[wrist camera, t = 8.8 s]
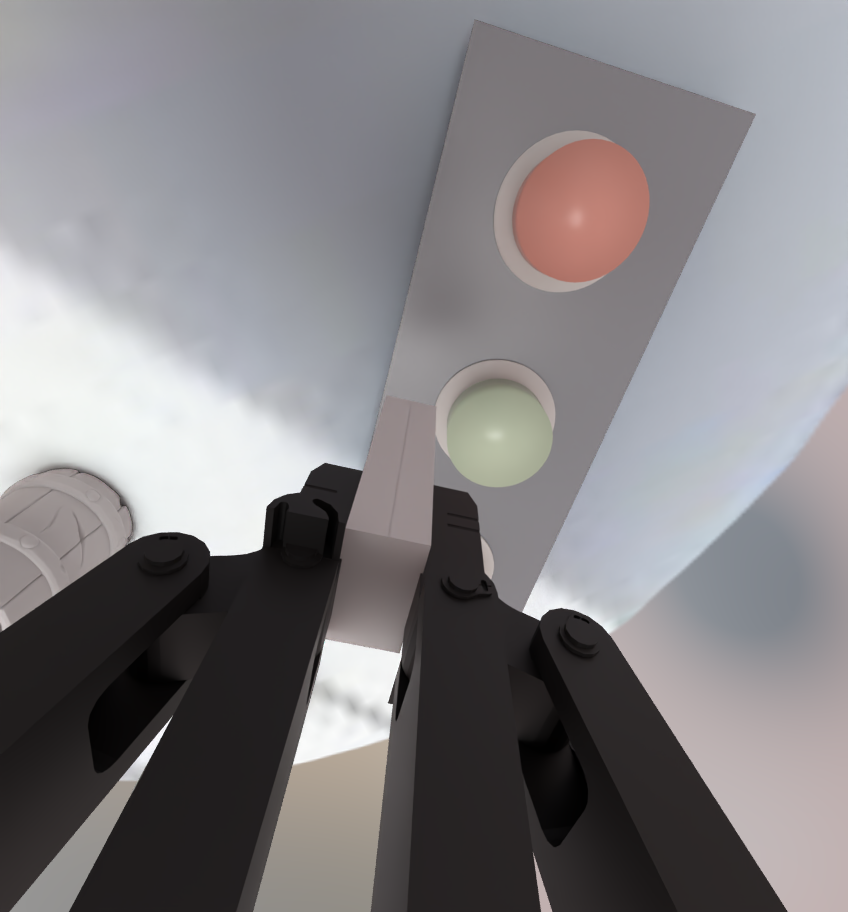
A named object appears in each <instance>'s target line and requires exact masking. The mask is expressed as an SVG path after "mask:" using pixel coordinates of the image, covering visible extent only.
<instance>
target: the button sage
mask: <svg viewBox="0 0 848 912" xmlns="http://www.w3.org/2000/svg"><path fill="white" fill-rule="evenodd" d="M552 442H553V432H552V427H551V423H550V420H549V418H548V416H547V414H546V412H545V411H544V409H543V407H542V405H541V403H540V402H539V400H538V398H537V397H536V396H535V394H534V393H533V392H532V391H531V390H529V389H528V388H527V387H525V386H524V385H522V384H520V383H518V382H515V381H512V380H508V379H499V378H498V379H488V380H484V381H481V382H478V383H476V384H474V385H472V386H470V387H468V388H467V389H466V390H464V391H463V392H462V393H461V394H460V395H459V396H458V397H457V399H456V400H455V401H454V403H453V405H452V407H451V409H450V411H449V414H448V418H447V448H448V453H449V456H450V459H451V461H452V463H453V464H454V466H455V467H456V469H457V470H458V471H459V472H460V473H461V474H462V475H463V476H464V477H466V478H467V479H469V480H470V481H472V482H474V483H477V484H480V485H483V486H487V487H507V486H512V485H516V484H518V483H521V482H523V481H525V480H527V479H528V478H530V477H531V476H533V475H534V474H535V473H536V472H537V471H538V470H539V469H540V468H541V467H542V466H543V464H544V463H545V461H546V460H547V458H548V456H549V453H550V451H551V447H552Z"/></svg>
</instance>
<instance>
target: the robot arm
mask: <svg viewBox="0 0 848 912" xmlns="http://www.w3.org/2000/svg"><path fill="white" fill-rule="evenodd" d="M435 433H436V406H432V405H427V404H423V403H419V402H414V401H410V400H405V399H401V398H397V397H392V396H388V395H386V398H385V402H384V405H383V408H382V411H381V415H380V418H379V421H378V424H377V427H376V431H375V434H374V437H373V440H372V444H371V447H370V450H369V453H368V457H367V460H366V463H365V466H364V470H363V471H360V470H355V469H351V468H346V467H341V466H337V465H332V464H328V463H324V464H322V465H321V466H319V467H318V468H316V469H314V470H313V471H311V473H310V475H309V477H308V479H307V481H306V482H305V485H304V486H303V488H302V490H301V492H300V493H294V494H286V495H284V496H281V497H279V498H277V499H274V500H273V501H272V502H271V503H270V504H269V505H268V506H267V509H266V519H265V530H264V541H263V547H262V549H261V550H259V551H256V552H252V553H248V554H243V555H232V556H210V551H209V549H208V548H207V546H206V545H205V543H204V542H203V541H201V540H199V539H198V538H196V537H194V536H192V535H187V534H183V533H179V532H168V533H157V534H153V535H148V536H144V537H142V538H140V539H138V540H136V541H134V542H132V543H130V544H128V545H126V546H125V547H124V548H122V549H121V550H119V551H118V552H116V553H115V554H113V555H112V556H111V557H109V558H108V559H106V560H105V561H103V562H102V563H100V564H99V565H97V566H96V567H95V568H93V569H92V570H90V571H89V572H87V573H86V574H84V575H83V576H81V577H80V578H79V579H77V580H76V581H74V582H73V583H71V584H70V585H68V586H67V587H66V588H64V589H63V590H61V591H60V592H58V593H57V594H55V595H54V596H52V597H51V598H50V599H48V600H47V601H45V602H44V603H42V604H41V605H39V606H38V607H36V608H35V609H34V610H32V611H31V612H29V613H28V614H26V615H25V616H23V617H22V618H21V619H19V620H18V621H16V622H15V623H13V624H12V625H10V626H9V627H7V628H6V629H5V630H3V631H2V632H0V912H9V911H10V910H11V909H12V908H13V907H14V905H15V904H16V903H17V901H19V899H20V898H21V897H22V896H23V895H24V893H25V892H26V891H27V889H29V887H30V886H31V885H32V884H33V883H34V881H35V880H36V879H37V878H38V877H39V875H40V874H41V873H42V872H43V871H44V869H45V868H46V867H47V865H49V863H50V862H51V861H52V860H53V859H54V857H55V856H56V855H57V854H58V853H59V851H60V850H61V849H62V848H63V847H64V845H65V844H66V843H67V842H68V841H69V839H70V838H71V837H72V836H73V835H74V834H75V832H76V831H77V830H78V829H79V828H80V826H81V825H82V824H83V823H84V822H85V820H86V819H87V818H88V817H89V815H90V814H91V813H92V812H93V811H94V810H95V808H96V807H97V806H98V805H99V804H100V802H101V801H102V800H103V799H104V798H105V796H106V795H107V794H108V793H109V792H110V790H111V789H112V788H113V787H114V786H115V784H116V783H117V782H118V781H119V780H120V778H121V777H122V776H123V775H124V774H125V772H126V771H127V770H128V769H129V768H130V766H131V765H132V764H133V763H134V762H135V760H136V759H137V758H138V757H139V756H140V754H141V753H142V752H143V751H144V750H145V748H146V747H147V746H148V745H149V744H150V742H151V741H152V740H153V739H154V738H155V736H156V735H157V734H158V733H159V732H160V730H161V729H162V728H163V727H164V726H165V724H166V723H167V722H168V721H169V720H170V718H171V717H172V716H173V717H172V719H171V721H170V722H169V724H168V726H167V728H166V730H165V732H164V734H163V736H162V738H161V739H160V741H159V743H158V745H157V747H156V749H155V751H154V753H153V755H152V756H151V758H150V760H149V762H148V764H147V766H146V768H145V770H144V771H143V773H142V775H141V777H140V779H139V781H138V783H137V785H136V787H135V788H134V790H133V792H132V794H131V796H130V798H129V800H128V802H127V804H126V805H125V807H124V809H123V811H122V813H121V815H120V817H119V819H118V821H117V822H116V824H115V826H114V828H113V830H112V832H111V834H110V836H109V837H108V839H107V841H106V843H105V845H104V847H103V849H102V851H101V853H100V854H99V856H98V858H97V860H96V862H95V864H94V866H93V868H92V870H91V871H90V873H89V875H88V877H87V879H86V881H85V883H84V885H83V886H82V888H81V890H80V892H79V894H78V896H77V898H76V900H75V902H74V903H73V905H72V907H71V909H70V911H69V912H253V910H254V906H255V902H256V899H257V895H258V891H259V887H260V883H261V880H262V876H263V873H264V869H265V865H266V861H267V858H268V854H269V850H270V847H271V843H272V839H273V835H274V831H275V828H276V824H277V821H278V816H279V813H280V810H281V806H282V802H283V798H284V794H285V791H286V787H287V784H288V780H289V776H290V772H291V768H292V765H293V761H294V758H295V754H296V750H297V746H298V743H299V739H300V735H301V732H302V728H303V724H304V720H305V717H306V713H307V709H308V706H309V702H310V698H311V695H312V691H313V687H314V683H315V680H316V676H317V672H318V669H319V665H320V660H321V655H322V649H323V644H324V641H325V639H328V640H333V641H338V642H343V643H349V644H354V645H359V646H364V647H369V648H375V649H380V650H385V651H390V652H396V653H400V650H401V646H402V643H403V648H402V658H401V662H400V665H399V668H398V672H397V675H396V678H395V682H394V685H393V688H392V692H391V695H390V698H389V702H388V703H389V704H393V709H392V718H391V727H390V737H389V746H388V756H387V765H386V775H385V784H384V793H383V803H382V812H381V822H380V831H379V840H378V849H377V859H376V868H375V878H374V887H373V896H372V906H371V912H541V909H540V901H539V894H538V886H537V880H536V871H535V864H534V857H533V853H534V856H535V859H536V862H537V865H538V868H539V871H540V874H541V878H542V881H543V883H544V887H545V890H546V892H547V896H548V899H549V902H550V905H551V908H552V912H787V910H786V908H785V907H784V905H783V904H782V902H781V901H780V899H779V897H778V896H777V894H776V893H775V891H774V890H773V888H772V887H771V885H770V883H769V882H768V880H767V879H766V877H765V876H764V874H763V873H762V871H761V870H760V868H759V866H758V865H757V863H756V862H755V860H754V859H753V857H752V856H751V854H750V852H749V851H748V849H747V848H746V846H745V845H744V843H743V841H742V840H741V838H740V837H739V835H738V834H737V832H736V831H735V829H734V827H733V826H732V824H731V823H730V821H729V820H728V818H727V816H726V815H725V814H724V812H723V810H722V809H721V807H720V806H719V804H718V802H717V801H716V799H715V798H714V797H713V795H712V793H711V792H710V790H709V788H708V787H707V786H706V784H705V782H704V781H703V779H702V778H701V776H700V774H699V773H698V772H697V770H696V768H695V767H694V765H693V764H692V762H691V760H690V759H689V757H688V756H687V754H686V753H685V751H684V750H683V748H682V746H681V745H680V743H679V742H678V740H677V739H676V737H675V736H674V734H673V732H672V731H671V729H670V728H669V726H668V725H667V723H666V721H665V720H664V718H663V717H662V715H661V714H660V712H659V711H658V709H657V708H656V706H655V704H654V703H653V701H652V700H651V698H650V697H649V695H648V693H647V692H646V690H645V689H644V687H643V686H642V684H641V683H640V681H639V680H638V678H637V676H636V675H635V674H634V672H633V670H632V669H631V667H630V665H629V664H628V662H627V661H626V659H625V658H624V656H623V655H622V653H621V651H620V650H619V648H618V647H617V645H616V644H615V642H614V641H613V639H612V638H611V636H610V635H609V634H608V633H607V632H606V631H605V629H604V628H603V627H602V626H601V625H599V624H598V623H597V622H595V621H594V620H593V619H591V618H590V617H588V616H586V615H584V614H581V613H579V612H577V611H574V610H568V609H563V608H560V609H554V610H549V611H548V612H547V613H546V614H545V615H543V616H542V618H541V620H540V621H539V620H537V619H535V618H533V617H531V616H529V615H526V614H524V613H522V612H520V611H518V610H516V609H514V608H512V607H510V606H509V605H507V604H506V603H504V602H503V601H502V600H501V599H499V598H498V592H497V590H496V587H495V585H494V583H493V581H492V580H491V579H490V578H489V577H488V576H487V575H486V574H485V571H484V562H483V553H482V544H481V535H480V526H479V522H478V520H479V517H478V508H477V505H476V503H475V502H474V500H473V499H472V498H471V496H470V495H469V493H468V492H464V491H459V490H455V489H450V488H445V487H441V486H436V485H433V484H434V459H435Z"/></svg>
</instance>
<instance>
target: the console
mask: <svg viewBox="0 0 848 912" xmlns="http://www.w3.org/2000/svg"><path fill="white" fill-rule="evenodd" d="M755 115H756V114H754V113H751V112H748V111H745V110H742V109H739V108H736V107H733V106H730V105H727V104H724V103H721V102H718V101H715V100H712V99H709V98H706V97H703V96H700V95H697V94H694V93H691V92H689V91H686V90H683V89H680V88H677V87H674V86H671V85H668V84H665V83H662V82H659V81H656V80H653V79H650V78H647V77H644V76H641V75H638V74H635V73H632V72H629V71H626V70H623V69H620V68H617V67H614V66H611V65H608V64H605V63H602V62H599V61H597V60H594V59H591V58H588V57H585V56H582V55H579V54H576V53H573V52H570V51H567V50H564V49H561V48H558V47H555V46H552V45H549V44H546V43H543V42H540V41H537V40H534V39H531V38H528V37H525V36H522V35H519V34H516V33H513V32H510V31H507V30H505V29H502V28H499V27H496V26H493V25H490V24H487V23H484V22H481V21H478V20H474V24H473V28H472V32H471V36H470V40H469V45H468V49H467V53H466V57H465V61H464V65H463V69H462V73H461V77H460V81H459V85H458V90H457V94H456V98H455V102H454V106H453V110H452V114H451V118H450V122H449V126H448V130H447V135H446V139H445V143H444V147H443V151H442V155H441V159H440V163H439V167H438V171H437V175H436V180H435V184H434V188H433V192H432V196H431V200H430V204H429V208H428V212H427V216H426V220H425V225H424V229H423V233H422V237H421V241H420V245H419V249H418V253H417V257H416V261H415V265H414V270H413V274H412V278H411V282H410V286H409V290H408V294H407V298H406V302H405V306H404V310H403V315H402V319H401V323H400V327H399V331H398V335H397V339H396V343H395V347H394V351H393V355H392V360H391V364H390V368H389V372H388V376H387V380H386V384H385V388H384V392H383V396H382V400H381V405H380V409H379V413H378V417H377V421H376V425H375V429H374V433H373V437H374V434H375V431H376V427H377V424H378V421H379V418H380V415H381V411H382V408H383V405H384V402H385V398H386V395H388V396H392V397H397V398H401V399H405V400H410V401H414V402H419V403H423V404H427V405H432V406H436V433H435V459H434V484H433V485H436V486H441V487H445V488H450V489H455V490H459V491H464V492H468V493H469V495H470V496H471V498H472V499H473V500H474V502H475V503H476V505H477V508H478V517H479V520H478V522H479V526H480V535H481V544H482V553H483V562H484V571H485V574H486V575H487V576H488V577H489V578H490V579H491V580H492V581H493V583H494V585H495V587H496V590H497V592H498V598H499V599H501V600H502V601H503V602H504V603H506V604H507V605H509V606H510V607H512V608H514V609H516V610H518V611H520V612H522V611H523V609H524V607H525V604H526V602H527V600H528V598H529V596H530V594H531V592H532V589H533V587H534V585H535V583H536V581H537V579H538V577H539V575H540V572H541V570H542V568H543V566H544V564H545V562H546V560H547V558H548V555H549V553H550V551H551V549H552V547H553V545H554V543H555V541H556V538H557V536H558V534H559V532H560V530H561V528H562V526H563V524H564V521H565V519H566V517H567V515H568V513H569V511H570V509H571V507H572V504H573V502H574V500H575V498H576V496H577V494H578V492H579V489H580V487H581V485H582V483H583V481H584V479H585V477H586V475H587V472H588V470H589V468H590V466H591V464H592V462H593V460H594V458H595V455H596V453H597V451H598V449H599V447H600V445H601V443H602V441H603V438H604V436H605V434H606V432H607V430H608V428H609V426H610V424H611V421H612V419H613V417H614V415H615V413H616V411H617V409H618V407H619V404H620V402H621V400H622V398H623V396H624V394H625V392H626V389H627V387H628V385H629V383H630V381H631V379H632V377H633V375H634V372H635V370H636V368H637V366H638V364H639V362H640V360H641V358H642V355H643V353H644V351H645V349H646V347H647V345H648V343H649V341H650V338H651V336H652V334H653V332H654V330H655V328H656V326H657V324H658V321H659V319H660V317H661V315H662V313H663V311H664V309H665V306H666V304H667V302H668V300H669V298H670V296H671V294H672V292H673V289H674V287H675V285H676V283H677V281H678V279H679V277H680V275H681V272H682V270H683V268H684V266H685V264H686V262H687V260H688V258H689V255H690V253H691V251H692V249H693V247H694V245H695V243H696V241H697V238H698V236H699V234H700V232H701V230H702V228H703V226H704V224H705V221H706V219H707V217H708V215H709V213H710V211H711V209H712V206H713V204H714V202H715V200H716V198H717V196H718V194H719V192H720V189H721V187H722V185H723V183H724V181H725V179H726V177H727V175H728V172H729V170H730V168H731V166H732V164H733V162H734V160H735V158H736V155H737V153H738V151H739V149H740V147H741V145H742V143H743V141H744V138H745V136H746V134H747V132H748V130H749V128H750V126H751V124H752V121H753V119H754V117H755ZM584 139H602V140H606V141H610V142H613V143H615V144H618V145H619V146H621V147H623V148H624V149H626V150H627V151H628V152H629V153H630V154H632V155H633V157H634V158H635V159H636V160H637V161H638V163H639V165H640V166H641V168H642V170H643V172H644V174H645V177H646V180H647V184H648V188H649V214H648V218H647V223H646V226H645V229H644V232H643V234H642V236H641V238H640V240H639V242H638V244H637V245H636V247H635V248H634V250H633V251H632V252H631V254H630V255H629V256H628V257H627V258H626V259H625V260H624V261H623V262H622V263H621V264H620V265H619V266H618V267H617V268H615V269H614V270H612V271H611V272H609V273H608V274H606V275H604V276H602V277H600V278H597V279H594V280H591V281H586V282H576V283H574V282H565V281H560V280H557V279H554V278H552V277H549V276H547V275H545V274H543V273H541V272H539V271H537V270H536V269H534V268H533V267H532V266H531V265H530V264H529V263H528V262H527V261H526V260H525V259H524V257H523V256H522V255H521V253H520V251H519V249H518V247H517V245H516V242H515V239H514V235H513V228H512V214H513V207H514V203H515V199H516V196H517V193H518V191H519V189H520V187H521V185H522V183H523V181H524V180H525V178H526V177H527V175H528V174H529V173H530V172H531V171H532V169H533V168H534V167H535V166H536V165H537V164H539V163H540V162H541V161H542V160H544V159H545V158H546V157H548V156H549V155H551V154H552V153H553V152H555V151H556V150H558V149H560V148H561V147H563V146H565V145H567V144H570V143H572V142H575V141H580V140H584ZM498 378H499V379H508V380H512V381H515V382H518V383H520V384H522V385H524V386H525V387H527V388H528V389H529V390H531V391H532V392H533V393H534V394H535V396H536V397H537V398H538V400H539V402H540V403H541V405H542V407H543V409H544V411H545V412H546V414H547V416H548V418H549V420H550V423H551V427H552V432H553V442H552V447H551V451H550V453H549V456H548V458H547V460H546V461H545V463H544V464H543V466H542V467H541V468H540V469H539V470H538V471H537V472H536V473H535V474H534V475H533V476H531V477H530V478H528V479H527V480H525V481H523V482H521V483H518V484H516V485H512V486H507V487H487V486H483V485H480V484H477V483H474V482H472V481H470V480H469V479H467V478H466V477H464V476H463V475H462V474H461V473H460V472H459V471H458V470H457V469H456V467H455V466H454V464H453V463H452V461H451V459H450V456H449V453H448V448H447V418H448V414H449V411H450V409H451V407H452V405H453V403H454V401H455V400H456V399H457V397H458V396H459V395H460V394H461V393H462V392H463V391H464V390H466V389H467V388H468V387H470V386H472V385H474V384H476V383H478V382H481V381H484V380H488V379H498ZM373 437H372V440H373ZM371 444H372V441H371ZM370 447H371V445H370Z"/></svg>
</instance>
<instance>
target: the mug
mask: <svg viewBox="0 0 848 912" xmlns="http://www.w3.org/2000/svg"><path fill="white" fill-rule="evenodd" d="M119 500H120V498H119V495H118V494H117V493H115V491H114V490H112V489H111V488H110V487H108V486H107V485H106V484H105V483H104V482H102V481H101V480H99V479H98V478H96V477H94V476H91V475H89V474H87V473H78V471H77V470H73V469H57V470H50V471H47V472H44V473H41V474H35V475H31V476H28V477H26V478H24V479H22V480H20V481H18V482H16V483H15V484H14V485H12V486H11V487H9V488H8V489H7V490H6V491H5V492H4V494H3V495H2V496H1V498H0V632H2V631H3V630H5V629H6V628H7V627H9V626H10V625H12V624H13V623H15V622H16V621H18V620H19V619H21V618H22V617H23V616H25V615H26V614H28V613H29V612H31V611H32V610H34V609H35V608H36V607H38V606H39V605H41V604H42V603H44V602H45V601H47V600H48V599H50V598H51V597H52V596H54V595H55V594H57V593H58V592H60V591H61V590H63V589H64V588H66V587H67V586H68V585H70V584H71V583H73V582H74V581H76V580H77V579H79V578H80V577H81V576H83V575H84V574H86V573H87V572H89V571H90V570H92V569H93V568H95V567H96V566H97V565H99V564H100V563H102V562H103V561H105V560H106V559H108V558H109V557H111V556H112V555H113V554H115V553H116V552H118V551H119V550H121V549H122V548H124V547H125V545H126V544H127V542H128V541H129V540H128V539H127V538H128V537H129V536H130V535H131V532H132V521H131V517H130V513H129V510H128V509H127V507H126V506H122V507H121V506H120V502H119Z"/></svg>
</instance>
